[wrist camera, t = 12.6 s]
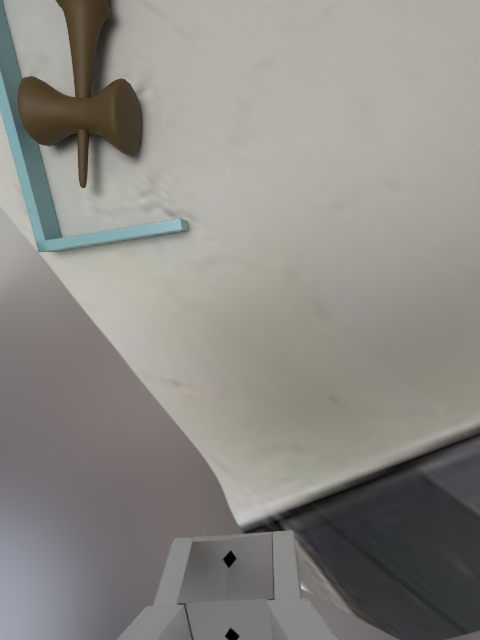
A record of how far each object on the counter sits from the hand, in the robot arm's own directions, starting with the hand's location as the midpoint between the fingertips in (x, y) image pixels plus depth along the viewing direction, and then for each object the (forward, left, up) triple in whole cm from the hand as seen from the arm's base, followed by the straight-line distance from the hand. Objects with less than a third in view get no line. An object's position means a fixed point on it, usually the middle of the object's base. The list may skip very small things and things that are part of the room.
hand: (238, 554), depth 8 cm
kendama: (+13, -25, -30) cm, 41 cm away
